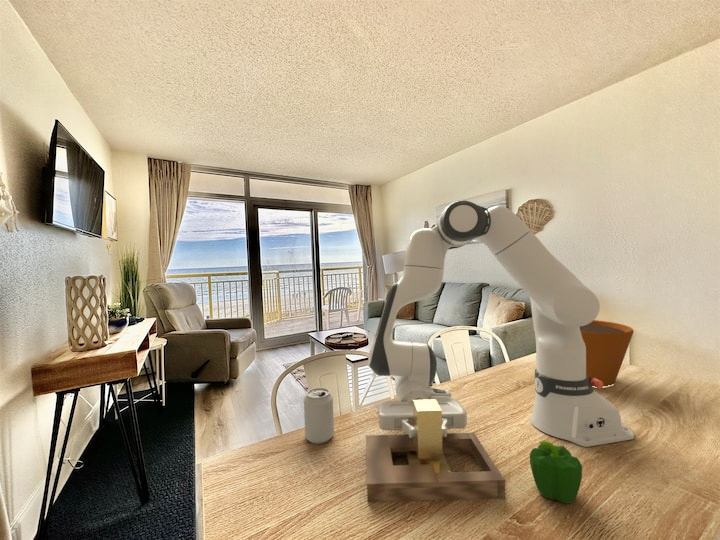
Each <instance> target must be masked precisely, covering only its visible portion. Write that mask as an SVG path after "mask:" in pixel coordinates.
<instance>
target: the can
mask: <svg viewBox="0 0 720 540" xmlns="http://www.w3.org/2000/svg"><path fill="white" fill-rule="evenodd" d="M305 394H306V395H305V396H304V398H303V411H304V412H303V413H304V414H303V415H304V418H303V419H304V435H305V439H307V441H309V442H310V443H312V444H317V445H318V444H319V445H321V444H324V443H327V442H329V440H331V439H332V438H333V436H334V435H335V426H334V425H335V422H334V421H335V420H334V419H335V418H334V417H335V416H334V396H333V394H331V390H330V389H329V388H327V387H314V388H311V389H309V390H307V391H306V393H305Z"/></svg>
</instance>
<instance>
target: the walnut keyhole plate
mask: <svg viewBox="0 0 720 540" xmlns="http://www.w3.org/2000/svg"><path fill="white" fill-rule="evenodd" d="M408 451H416V449H415V445H414V438H409V434H407V433H405V434H382V435H381V434H379V435H377V434H376V435H369V434H368V435H365V454H366V456H365V457H366V459H365V460H366V493H367V494H366V495H367V502H368V503H374V502H376V503H377V502H378V503H382V502H414V501H415V502H416V501H454V500H456V501H458V500H482V499H483V500H485V499H486V500H491V499H492V500H493V499H506V478H504V475H502V473H501V471H500V470H499V469H498V467H497V465H496V464H495V462H494V461H493V460H492V457H490V455H489V453H488V452H487V450H486V449H485V447H484V445H483V443H482V442H481V441H480V439H479V438H478V436H477V435H476V433H475V432H452V433H451V432H450V433H448V432H447V437H442V451H443V454H444V455H467V454H469V455H470V454H471V455H472V457H473V458H474V460H475V462H476V464H477V465H478V467H479V469H480V470H481V471H456V472H455V471H453V472H452V471H451V472H445V473H435V470H434V467H433V464H427V465H409V464H400V465H399V464H398V465H397V464H395V465H394V463H393V457H394V456H395V457H396V456H398V457H399V456H407V452H408Z"/></svg>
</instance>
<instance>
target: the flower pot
mask: <svg viewBox="0 0 720 540" xmlns="http://www.w3.org/2000/svg"><path fill="white" fill-rule="evenodd" d="M580 331H581V335H582V338H583V341H584V343H585V346H586V375H587V376H589V377H591V379H593V378H596V379H598V380H600V381H602V382H603V383H602V384H603V386H608V385H612V384H614V383H615V384H616V381H617V378H618V375H619V373H620V369H621V368H622V365H623V362H624V359H625V356H626V355H627V354H626V353H627V351H628V348H629V346H630V342H631V340H632V337H633V334H634V329H633V328H632V327H630V326H628V325H625V324H621V323H618V322H611V321H605V320H598V319H594V320H593V321H592V322H591V323H589V324H587V325H585V326H580ZM615 384H614V385H615ZM591 385H592V384H591ZM592 386H593V385H592Z"/></svg>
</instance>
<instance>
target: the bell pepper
mask: <svg viewBox="0 0 720 540" xmlns="http://www.w3.org/2000/svg"><path fill="white" fill-rule="evenodd" d="M538 443H539V445H538V447H534V448H532V449H531V451H530V452H529V465H530V469H531V470H530V471H531V473H532V477H533V480H534V483H535V486H536V488H537V490H538V491H539V493H540V494H541V495H542V496H543V497H544V498H546V499H550V500H558V502H560V503H563V504H567V505H568V504H569V503H572V502H574V501H575V500H576V499H577V496H578V494H579V490H580V487H581V482H582V479H583V465H582V463H581V461H580V459H579V458H578V457H576V456H572V453H571V452H570V450H568V449H567V447H565V446H564V445H555V444H553V443H552V442H551V441H547V440H541V441H539V442H538Z"/></svg>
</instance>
